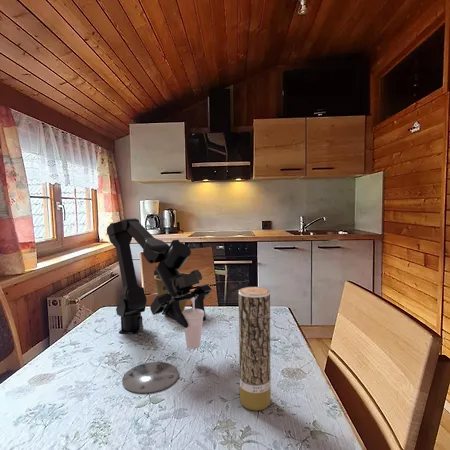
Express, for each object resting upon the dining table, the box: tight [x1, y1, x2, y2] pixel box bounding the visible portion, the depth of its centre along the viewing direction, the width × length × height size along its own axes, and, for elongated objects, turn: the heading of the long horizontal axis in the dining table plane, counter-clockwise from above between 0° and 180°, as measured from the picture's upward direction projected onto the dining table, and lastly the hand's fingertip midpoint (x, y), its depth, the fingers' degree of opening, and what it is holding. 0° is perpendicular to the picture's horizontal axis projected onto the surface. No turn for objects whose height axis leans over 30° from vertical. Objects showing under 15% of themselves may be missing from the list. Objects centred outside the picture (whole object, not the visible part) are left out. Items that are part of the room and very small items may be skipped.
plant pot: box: [154, 271, 189, 318], centre depth 127 cm, size 15×15×16 cm
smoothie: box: [182, 297, 204, 350], centre depth 86 cm, size 6×6×14 cm
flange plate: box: [121, 361, 180, 394], centre depth 79 cm, size 14×14×1 cm
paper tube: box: [238, 286, 272, 411], centre depth 68 cm, size 7×7×25 cm
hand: (196, 324), depth 86 cm, fingers closed on smoothie, 6 cm apart
